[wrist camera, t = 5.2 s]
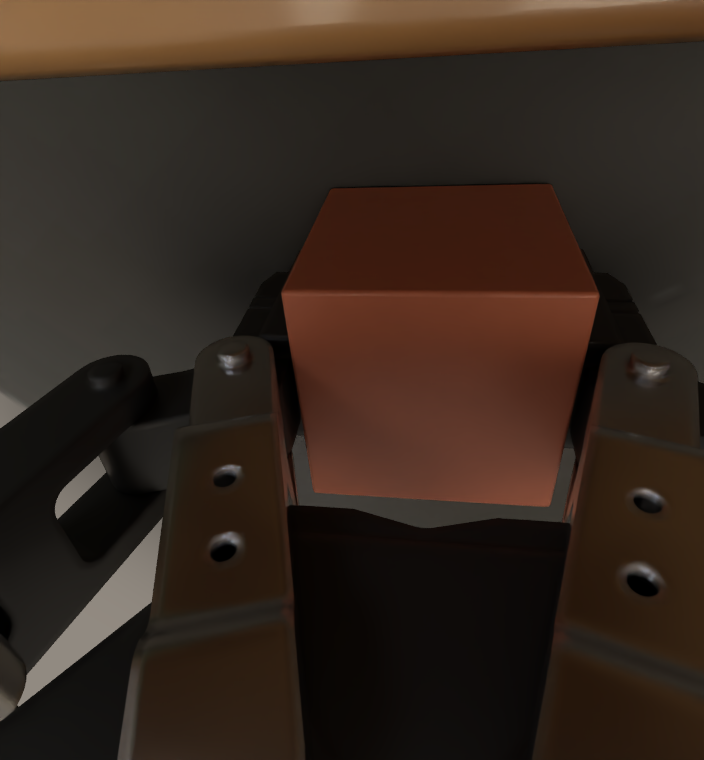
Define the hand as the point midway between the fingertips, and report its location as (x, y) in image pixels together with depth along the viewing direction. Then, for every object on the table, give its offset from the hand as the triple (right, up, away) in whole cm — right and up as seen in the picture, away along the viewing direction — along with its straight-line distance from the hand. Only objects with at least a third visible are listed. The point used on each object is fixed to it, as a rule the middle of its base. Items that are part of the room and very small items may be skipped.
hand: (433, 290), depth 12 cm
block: (0, 0, 0) cm, 0 cm away
